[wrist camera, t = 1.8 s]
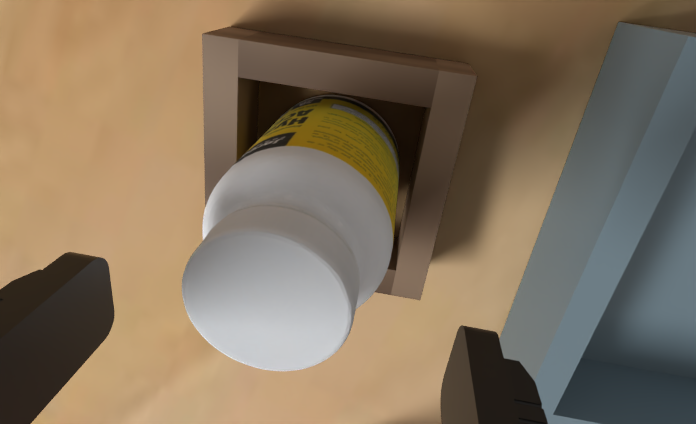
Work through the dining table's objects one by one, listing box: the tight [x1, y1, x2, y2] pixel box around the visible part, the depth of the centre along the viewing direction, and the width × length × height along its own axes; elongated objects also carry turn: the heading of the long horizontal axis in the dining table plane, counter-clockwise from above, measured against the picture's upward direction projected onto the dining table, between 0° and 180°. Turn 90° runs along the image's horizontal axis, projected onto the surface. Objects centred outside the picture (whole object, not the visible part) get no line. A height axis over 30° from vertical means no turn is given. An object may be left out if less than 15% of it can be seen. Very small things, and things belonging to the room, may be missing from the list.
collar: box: [202, 27, 477, 300], centre depth 18 cm, size 9×9×2 cm
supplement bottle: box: [182, 95, 400, 371], centre depth 15 cm, size 5×5×10 cm
